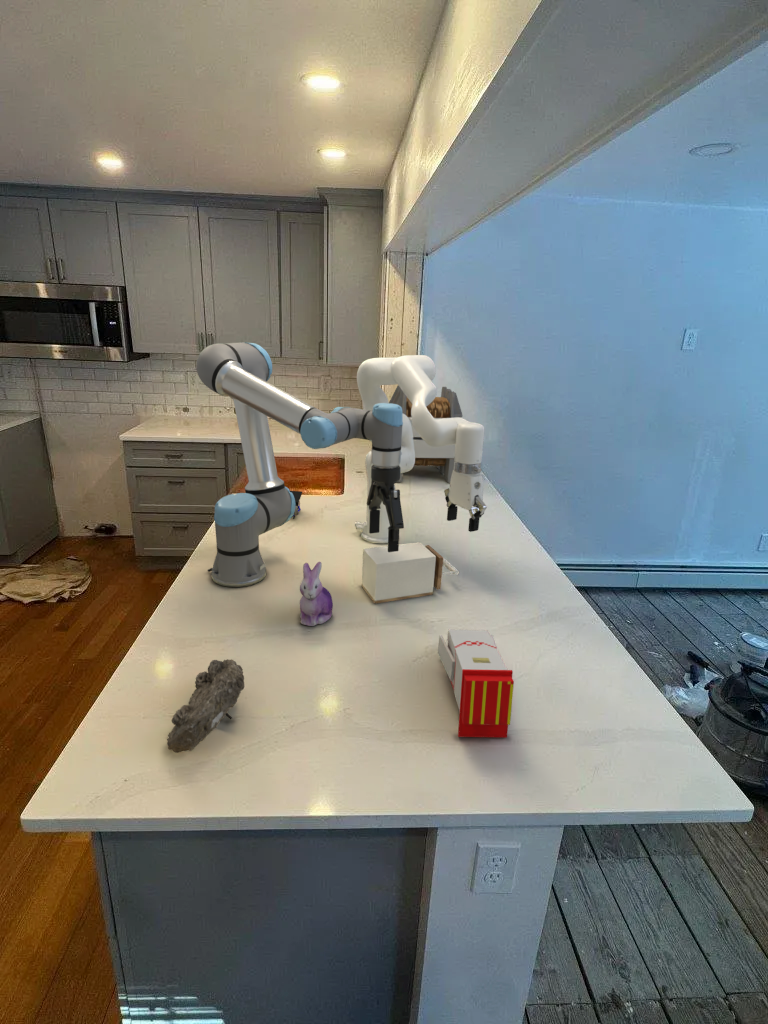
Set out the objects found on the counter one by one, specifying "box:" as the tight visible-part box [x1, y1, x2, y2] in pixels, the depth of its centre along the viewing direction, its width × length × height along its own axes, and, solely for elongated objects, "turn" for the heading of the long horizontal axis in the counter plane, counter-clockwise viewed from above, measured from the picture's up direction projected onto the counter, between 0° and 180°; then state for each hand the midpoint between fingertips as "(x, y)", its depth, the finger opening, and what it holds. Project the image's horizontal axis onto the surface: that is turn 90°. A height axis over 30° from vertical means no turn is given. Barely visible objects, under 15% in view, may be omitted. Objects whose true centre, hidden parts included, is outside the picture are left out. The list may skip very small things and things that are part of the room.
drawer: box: [424, 544, 460, 591], centre depth 160 cm, size 22×9×10 cm, turn 112°
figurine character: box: [290, 490, 303, 520], centre depth 212 cm, size 7×8×15 cm
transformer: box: [388, 384, 463, 484], centre depth 268 cm, size 34×33×41 cm
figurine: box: [299, 561, 334, 627], centre depth 141 cm, size 9×10×15 cm
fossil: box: [166, 658, 245, 754], centre depth 106 cm, size 22×10×15 cm
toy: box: [437, 628, 515, 738], centre depth 117 cm, size 12×13×30 cm
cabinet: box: [361, 541, 436, 604], centre depth 158 cm, size 17×10×12 cm, turn 112°
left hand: (383, 541), depth 153 cm, fingers open, 13 cm apart
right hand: (462, 525), depth 163 cm, fingers open, 9 cm apart
